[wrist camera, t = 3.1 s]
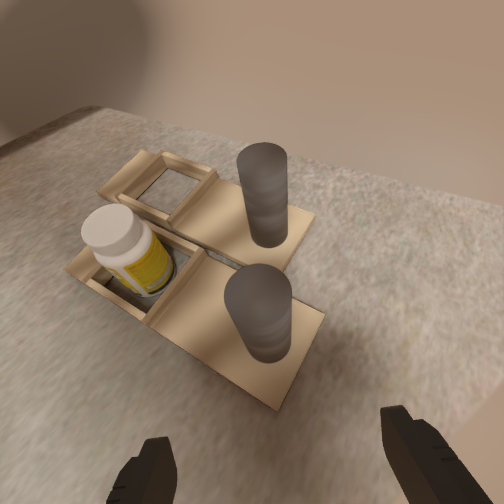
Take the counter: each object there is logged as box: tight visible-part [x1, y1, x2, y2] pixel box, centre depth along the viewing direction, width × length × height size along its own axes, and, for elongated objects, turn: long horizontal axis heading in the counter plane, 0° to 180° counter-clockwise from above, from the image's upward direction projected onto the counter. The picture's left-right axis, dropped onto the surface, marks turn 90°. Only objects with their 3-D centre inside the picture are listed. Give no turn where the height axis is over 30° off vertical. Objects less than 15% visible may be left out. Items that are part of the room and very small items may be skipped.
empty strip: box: [97, 142, 316, 272], centre depth 28 cm, size 24×8×10 cm, turn 59°
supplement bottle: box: [81, 204, 176, 297], centre depth 25 cm, size 5×5×8 cm
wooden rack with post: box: [64, 218, 325, 412], centre depth 23 cm, size 24×8×10 cm, turn 59°
